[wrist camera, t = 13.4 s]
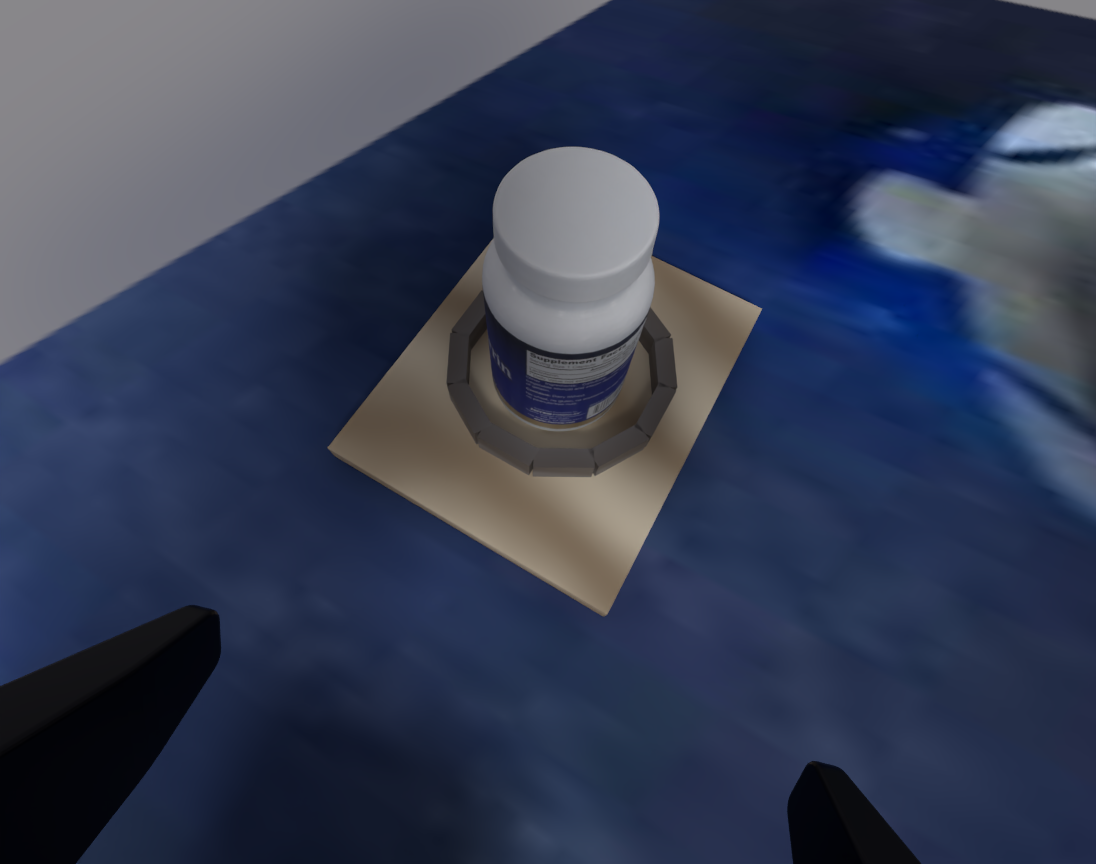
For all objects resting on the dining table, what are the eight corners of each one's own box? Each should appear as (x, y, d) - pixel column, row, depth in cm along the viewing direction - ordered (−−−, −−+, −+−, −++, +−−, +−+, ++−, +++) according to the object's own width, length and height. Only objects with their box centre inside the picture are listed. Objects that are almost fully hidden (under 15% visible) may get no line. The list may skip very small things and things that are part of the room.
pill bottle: (490, 323, 26) (472, 131, 16) (613, 319, 26) (664, 129, 17) (493, 439, 23) (475, 292, 14) (628, 434, 24) (696, 287, 15)
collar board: (603, 616, 22) (611, 611, 20) (334, 456, 24) (317, 437, 22) (753, 320, 27) (772, 293, 25) (526, 210, 29) (527, 177, 27)
